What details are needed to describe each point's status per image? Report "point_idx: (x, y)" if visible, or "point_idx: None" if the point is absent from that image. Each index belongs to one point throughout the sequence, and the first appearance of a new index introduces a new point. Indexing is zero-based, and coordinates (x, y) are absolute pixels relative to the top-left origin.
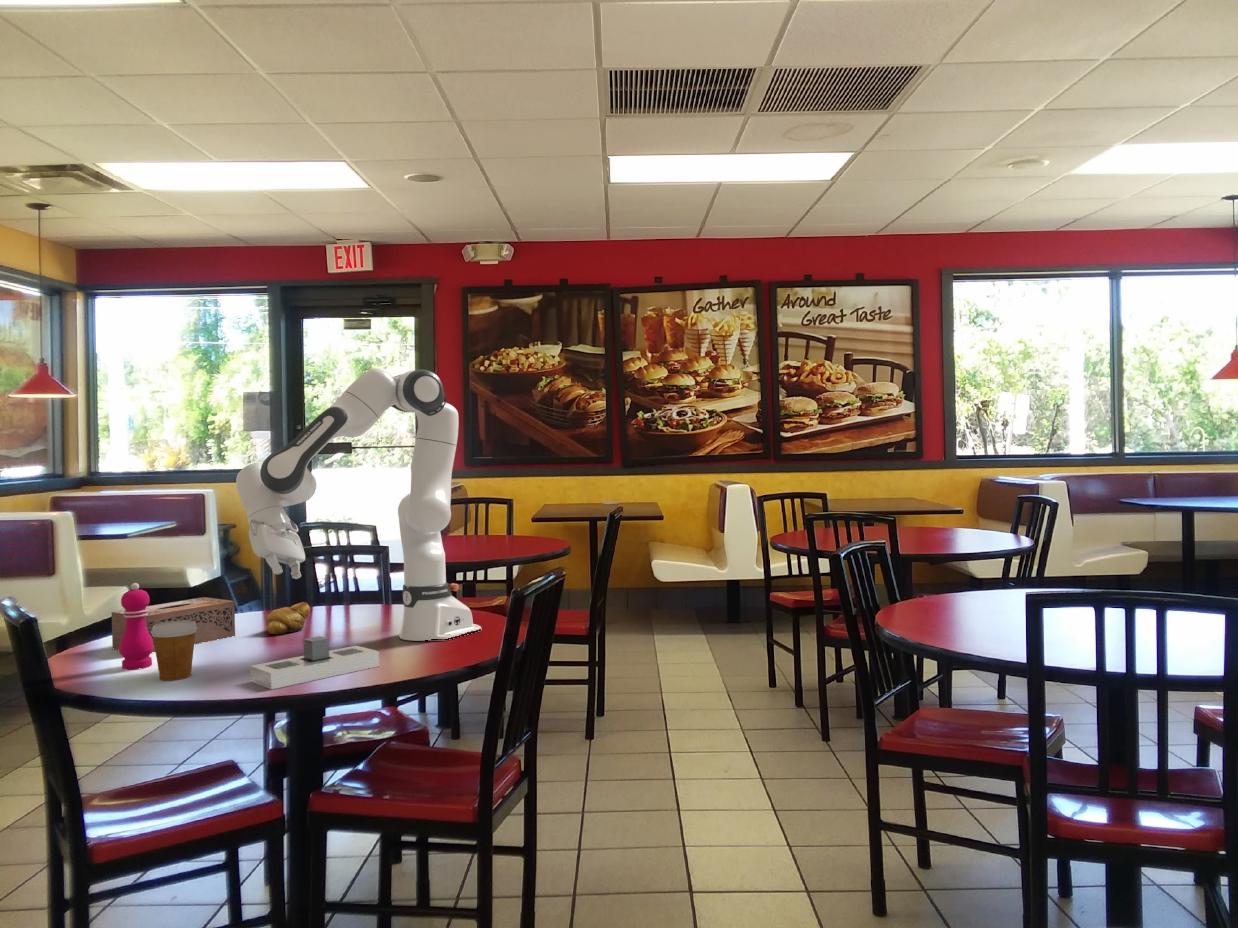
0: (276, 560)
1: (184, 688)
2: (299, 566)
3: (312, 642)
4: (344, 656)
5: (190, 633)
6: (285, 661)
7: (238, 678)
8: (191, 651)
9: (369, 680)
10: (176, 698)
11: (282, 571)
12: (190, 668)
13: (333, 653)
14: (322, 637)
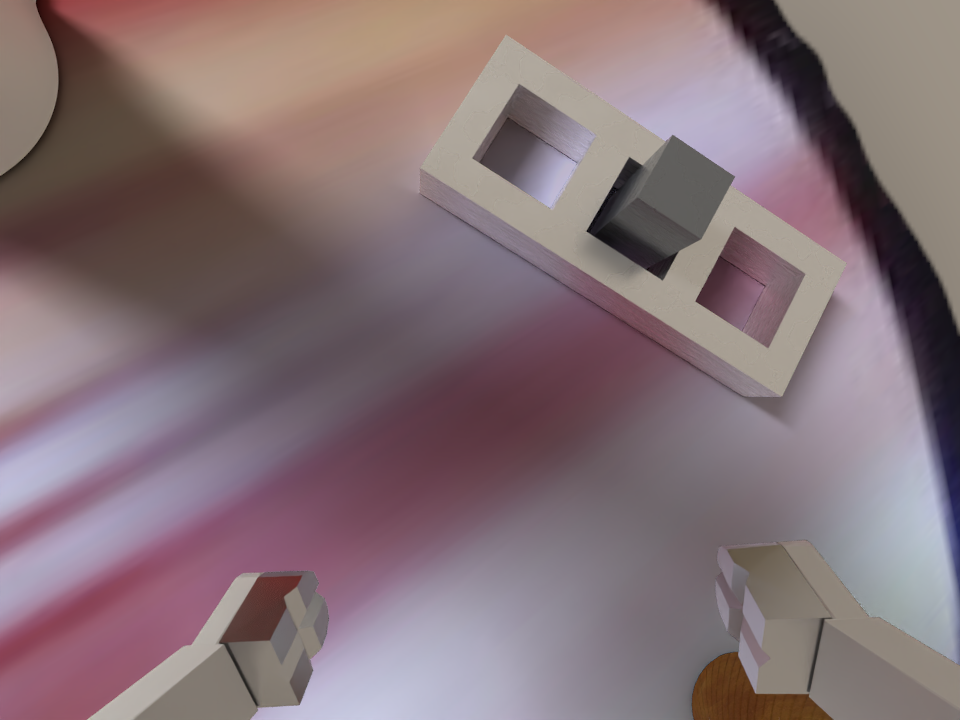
0: (954, 680)
1: (841, 554)
2: (111, 706)
3: (730, 178)
4: (602, 129)
5: None
6: (703, 308)
7: (714, 464)
8: (792, 697)
9: (665, 34)
10: (926, 495)
11: (730, 546)
12: (738, 667)
13: (565, 193)
14: (658, 172)
